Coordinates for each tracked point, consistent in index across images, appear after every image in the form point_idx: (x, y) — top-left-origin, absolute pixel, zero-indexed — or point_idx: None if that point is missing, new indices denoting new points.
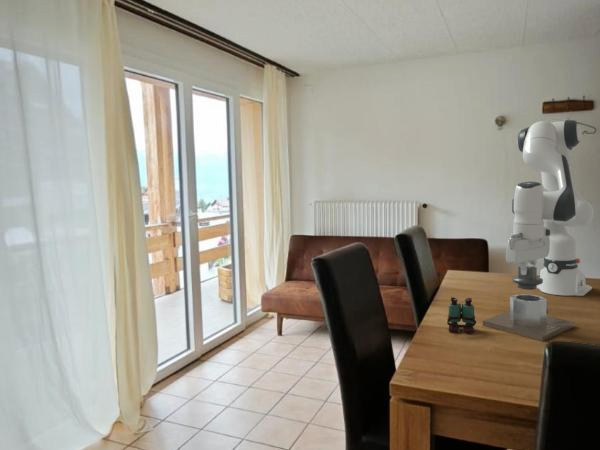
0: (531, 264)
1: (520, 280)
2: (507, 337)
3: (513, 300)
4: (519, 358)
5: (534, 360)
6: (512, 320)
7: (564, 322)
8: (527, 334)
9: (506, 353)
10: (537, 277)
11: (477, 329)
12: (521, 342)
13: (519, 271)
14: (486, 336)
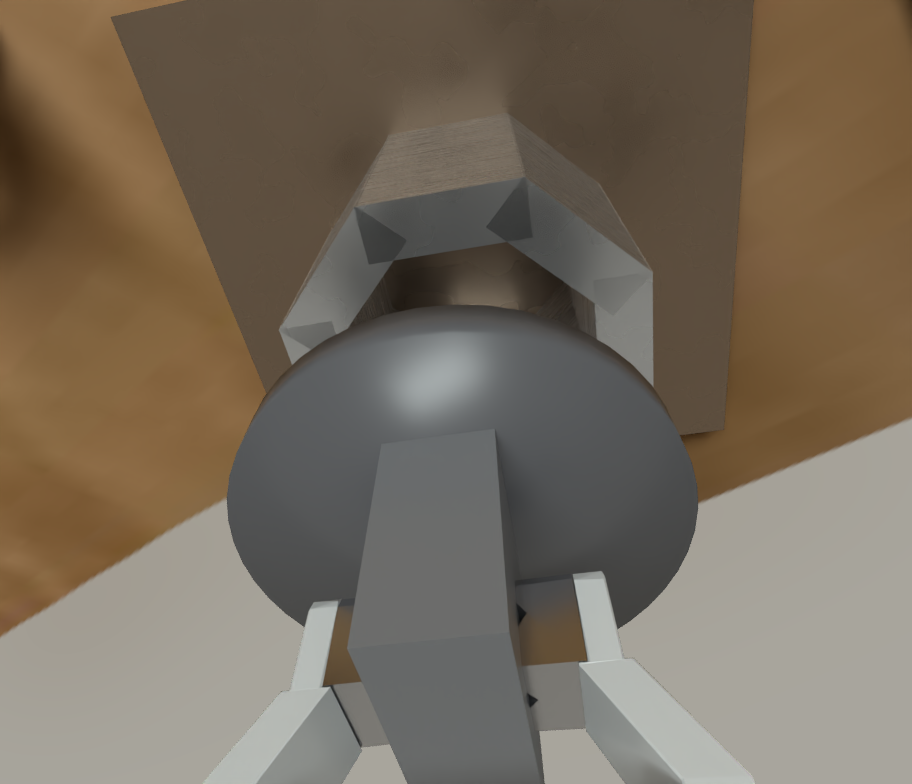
0: (635, 765)
1: (267, 558)
2: (155, 332)
3: (282, 323)
4: (35, 533)
5: (91, 568)
6: (344, 209)
7: (665, 403)
8: None
9: (3, 477)
10: (666, 557)
11: (21, 85)
12: (183, 422)
13: (369, 559)
14: (17, 248)
